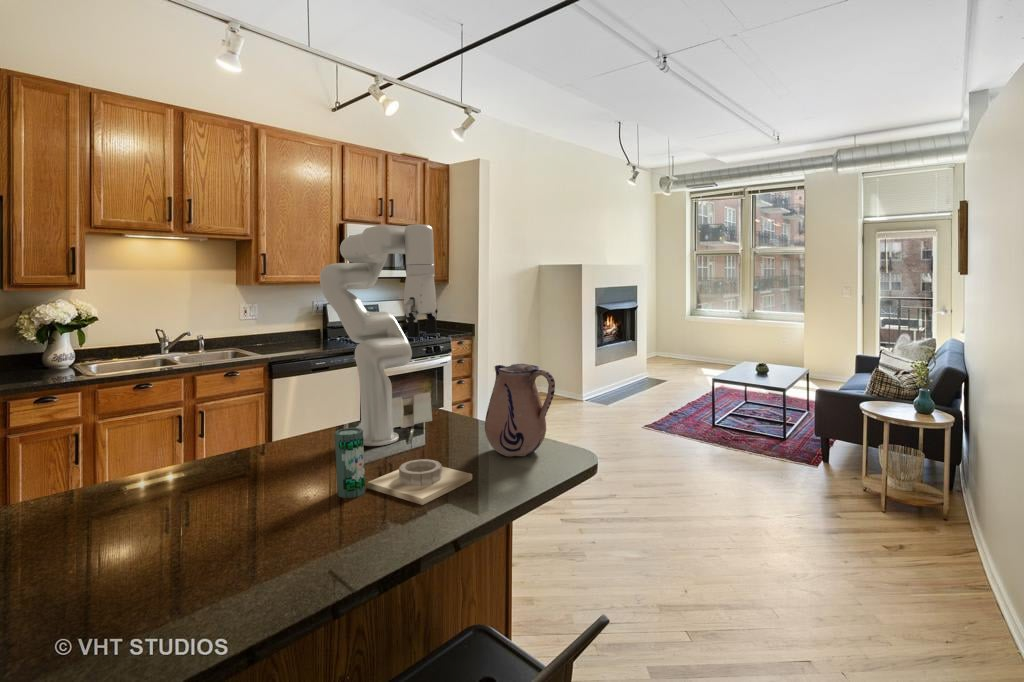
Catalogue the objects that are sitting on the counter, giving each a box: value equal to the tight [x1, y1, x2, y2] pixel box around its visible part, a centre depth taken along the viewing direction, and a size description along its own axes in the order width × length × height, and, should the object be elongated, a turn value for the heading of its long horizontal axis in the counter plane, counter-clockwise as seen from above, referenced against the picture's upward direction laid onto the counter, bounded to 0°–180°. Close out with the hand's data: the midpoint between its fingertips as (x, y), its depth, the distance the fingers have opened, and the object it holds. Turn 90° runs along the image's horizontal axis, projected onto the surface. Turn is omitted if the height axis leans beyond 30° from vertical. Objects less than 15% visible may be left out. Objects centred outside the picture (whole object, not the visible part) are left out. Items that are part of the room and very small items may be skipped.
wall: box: [392, 391, 433, 429], centre depth 193 cm, size 16×9×15 cm
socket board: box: [367, 458, 473, 506], centre depth 136 cm, size 18×18×4 cm
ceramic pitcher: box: [484, 363, 556, 457], centre depth 158 cm, size 18×21×25 cm
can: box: [334, 427, 366, 499], centre depth 130 cm, size 6×6×15 cm
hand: (422, 335), depth 150 cm, fingers open, 9 cm apart
